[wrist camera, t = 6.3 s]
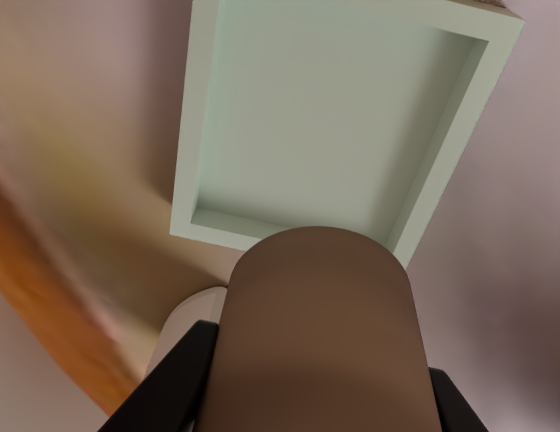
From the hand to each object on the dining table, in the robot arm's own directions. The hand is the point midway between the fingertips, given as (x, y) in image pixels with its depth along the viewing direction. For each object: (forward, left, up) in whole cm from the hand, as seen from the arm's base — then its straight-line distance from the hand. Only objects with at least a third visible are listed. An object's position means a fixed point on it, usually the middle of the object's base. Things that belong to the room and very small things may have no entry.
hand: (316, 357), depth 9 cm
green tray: (0, 0, -11) cm, 11 cm away
